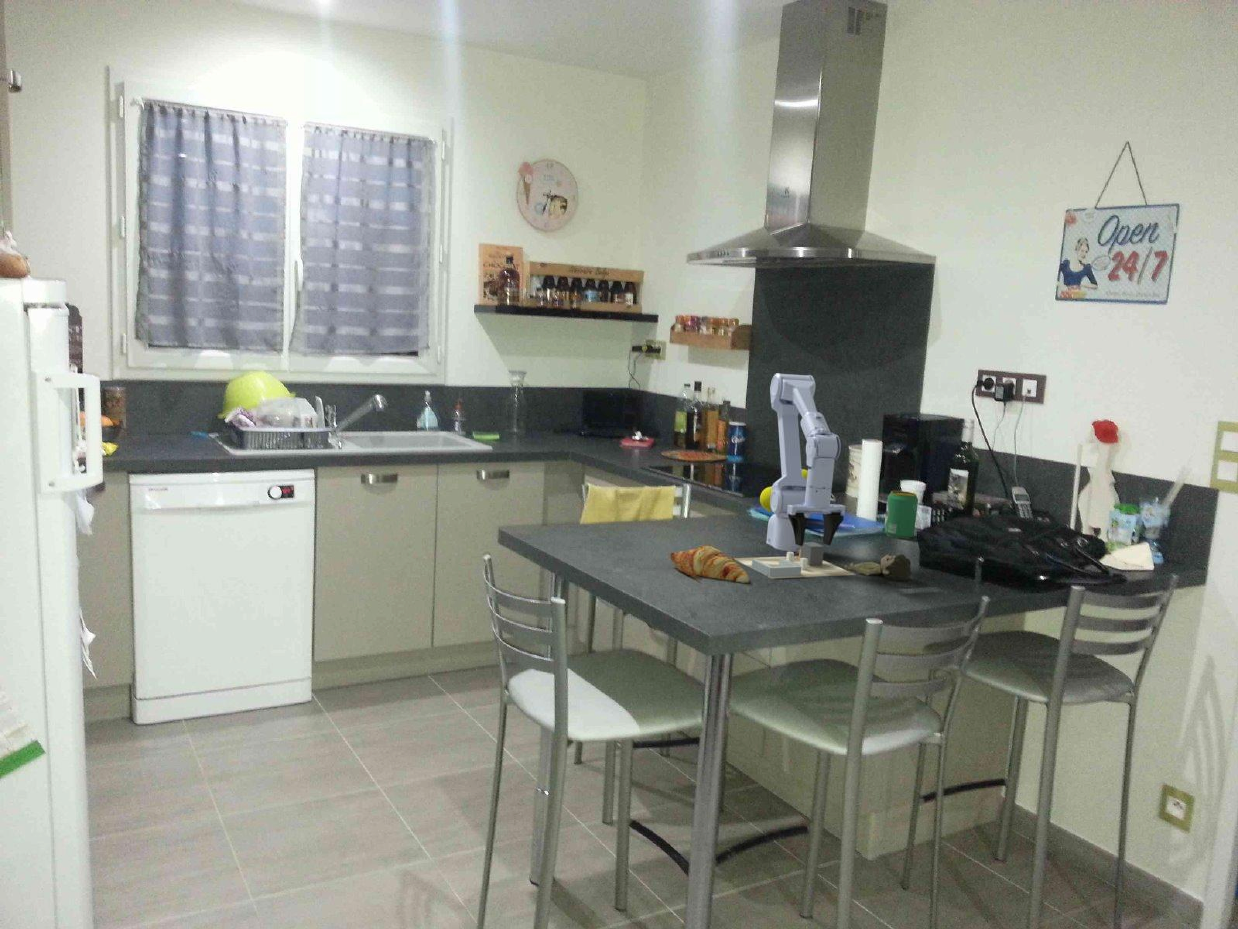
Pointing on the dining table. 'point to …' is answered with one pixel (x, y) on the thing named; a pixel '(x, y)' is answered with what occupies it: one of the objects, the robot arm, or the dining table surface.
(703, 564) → the croissant
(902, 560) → the figurine
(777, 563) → the board
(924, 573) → the dining table surface
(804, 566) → the twin white cubes
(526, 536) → the dining table surface
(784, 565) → the end holder
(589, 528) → the dining table surface
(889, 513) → the beverage can
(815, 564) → the block
